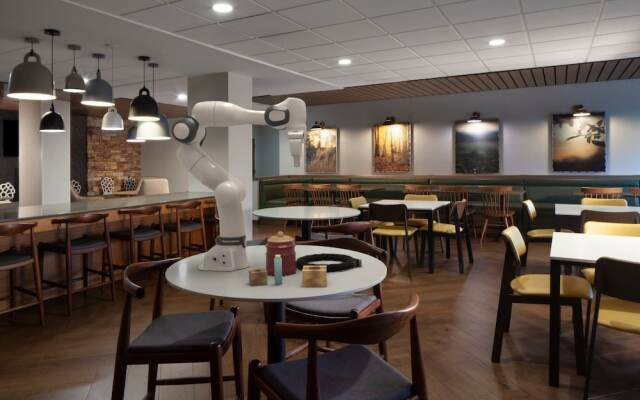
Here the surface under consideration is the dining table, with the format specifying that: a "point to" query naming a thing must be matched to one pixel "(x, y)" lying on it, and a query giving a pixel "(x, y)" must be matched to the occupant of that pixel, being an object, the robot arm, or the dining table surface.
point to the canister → (281, 254)
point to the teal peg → (278, 269)
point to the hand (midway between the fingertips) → (297, 167)
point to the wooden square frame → (314, 276)
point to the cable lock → (346, 259)
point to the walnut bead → (258, 277)
